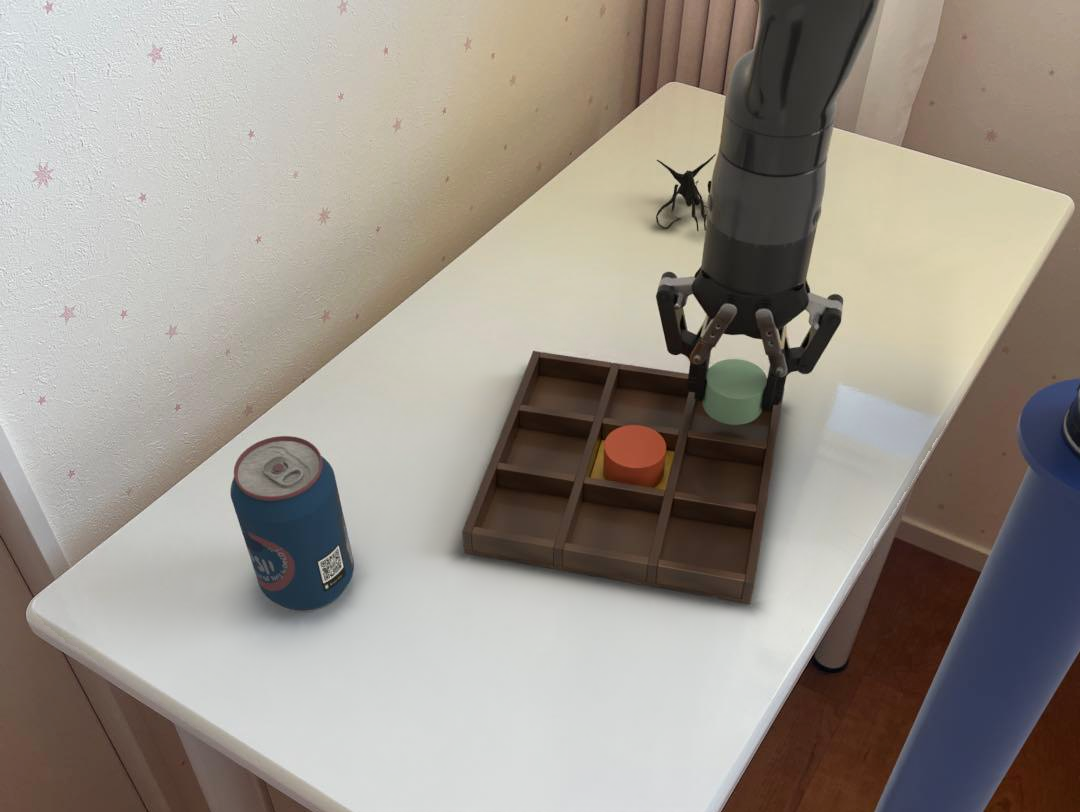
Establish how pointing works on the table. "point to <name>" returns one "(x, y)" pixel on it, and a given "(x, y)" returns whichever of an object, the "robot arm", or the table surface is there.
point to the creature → (687, 192)
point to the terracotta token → (634, 456)
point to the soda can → (292, 522)
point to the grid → (619, 508)
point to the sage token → (734, 391)
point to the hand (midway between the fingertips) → (733, 397)
